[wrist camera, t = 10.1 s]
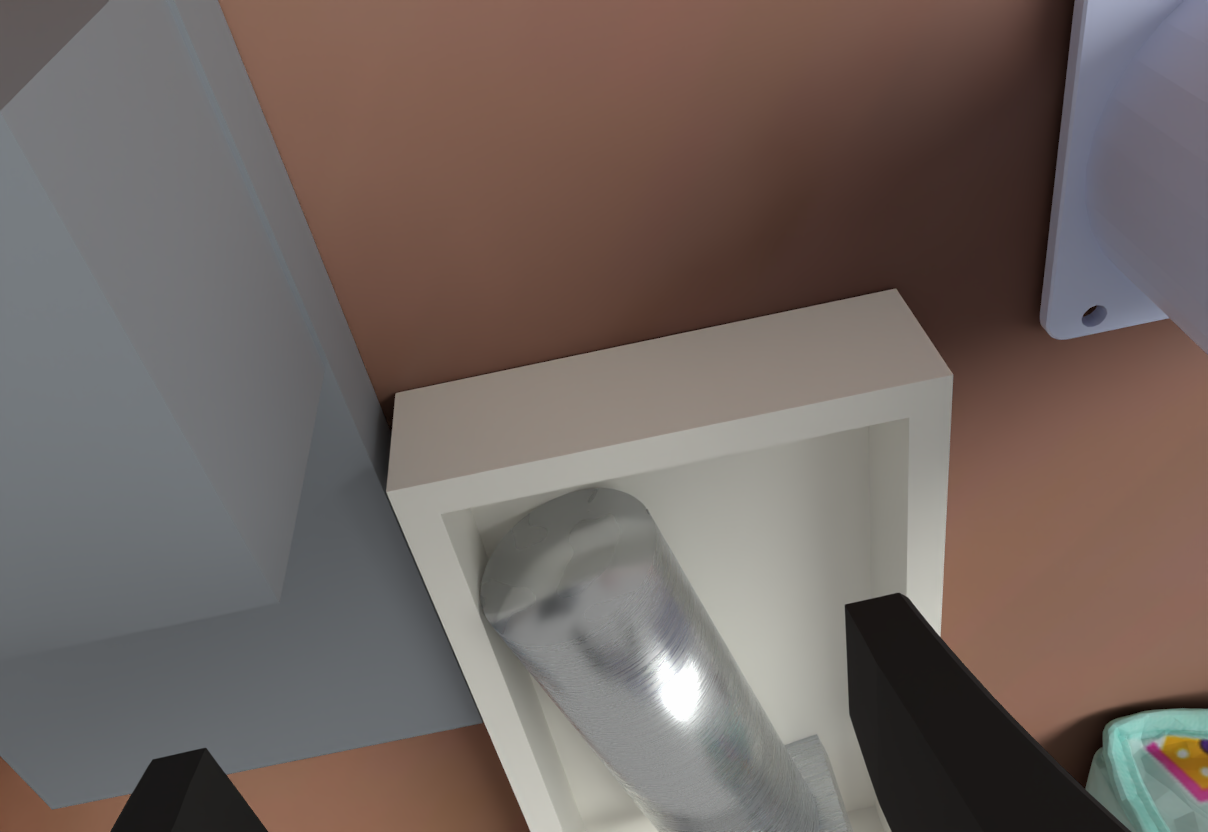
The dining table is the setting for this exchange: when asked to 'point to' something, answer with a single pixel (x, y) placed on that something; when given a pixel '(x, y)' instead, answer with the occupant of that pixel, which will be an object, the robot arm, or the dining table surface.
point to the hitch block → (183, 429)
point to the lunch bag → (1154, 770)
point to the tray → (696, 513)
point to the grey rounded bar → (649, 672)
